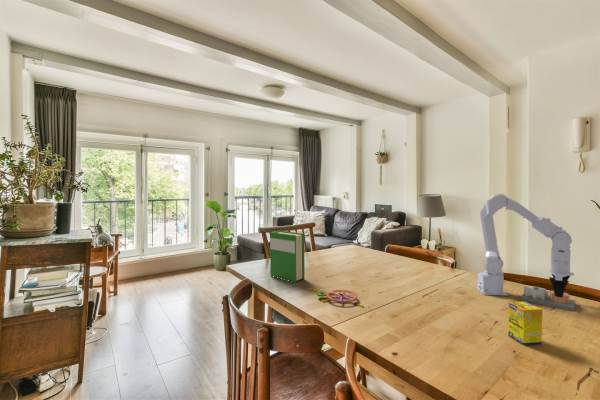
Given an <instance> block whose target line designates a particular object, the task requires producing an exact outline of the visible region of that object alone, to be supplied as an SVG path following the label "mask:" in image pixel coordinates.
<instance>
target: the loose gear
mask: <svg viewBox="0 0 600 400" xmlns="http://www.w3.org/2000/svg"><path fill="white" fill-rule="evenodd" d="M549 295H550V300H552V301H555V302H558V303H569V299H570V295H569V293H567V292H564V294H563V297H562V298H561V297H556V296H555V294H554V290H550V291H549Z"/></svg>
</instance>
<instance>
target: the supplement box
mask: <svg viewBox="0 0 600 400" xmlns="http://www.w3.org/2000/svg"><path fill="white" fill-rule="evenodd" d="M543 312H544V311H543V308H540V307H537V306H535V305H533V304H531V303H530V302H528V301H510V302H508V324H507V325H508V329H507V330H508V331H507V333H508V334H507V336H508V337H510V338H512V339H514V340H515V341H516V342H518V343H519V344H520V345H522V346H538V345H542V339H543V338H542V336H543V334H542V333H543V332H542V331H543Z"/></svg>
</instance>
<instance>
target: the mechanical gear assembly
mask: <svg viewBox="0 0 600 400" xmlns="http://www.w3.org/2000/svg"><path fill="white" fill-rule="evenodd" d="M309 289H310V291H312V290H313V292H315V291H317V292H316V296H317V297H321V298H323V297H326V298H324V299H321V303H327V302H330V301H332V302H334V303H335V302H336V303H347V304H348V303H349V304H351V305H353V306H355V307H356V306H357V307H361V308H364V307H365V306H364V305H362V304H359V301H357V299H358V294H357V293H356V292H354V291H351V290H346V289H334V290H330V291H328V292H326V291H324V289H320V290H316V289H313V288H310V287H308V290H309ZM346 293H348V294H346ZM343 294H344V295H343ZM350 296H353V297H354V298H352V297H350ZM329 300H330V301H329ZM354 301H355V302H354Z"/></svg>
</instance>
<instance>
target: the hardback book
mask: <svg viewBox="0 0 600 400" xmlns="http://www.w3.org/2000/svg"><path fill="white" fill-rule="evenodd" d="M269 249H270V251H269V255H270V257H269V258H270V260H269V263H270V265H269V266H270V268H269V269H270V270H269V271H270V272H269V273H270V277H271V276H274V277H278V278H282V279H285V280H289V281H292V282H291V283H293V282H296V283H297V281H300V280H302V279H305V276H306V275H305V273H306V272H305V233H301V232H294V231H293V232H292V231H285V230H275V231H270V232H269ZM274 277H273V278H274ZM278 278H277V279H278ZM282 279H281V280H282ZM285 280H284V281H285ZM289 281H288V282H289Z"/></svg>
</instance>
